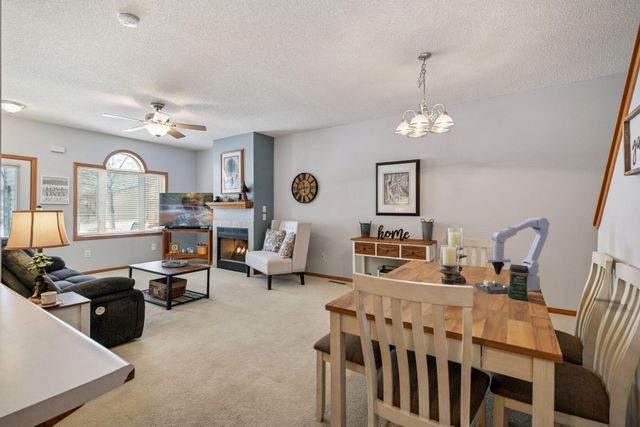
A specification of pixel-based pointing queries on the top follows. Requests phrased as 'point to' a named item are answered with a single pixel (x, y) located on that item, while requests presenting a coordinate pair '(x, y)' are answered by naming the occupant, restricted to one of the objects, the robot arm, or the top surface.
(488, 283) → the fader cap
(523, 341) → the top surface
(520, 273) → the coffee jar
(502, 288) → the console
